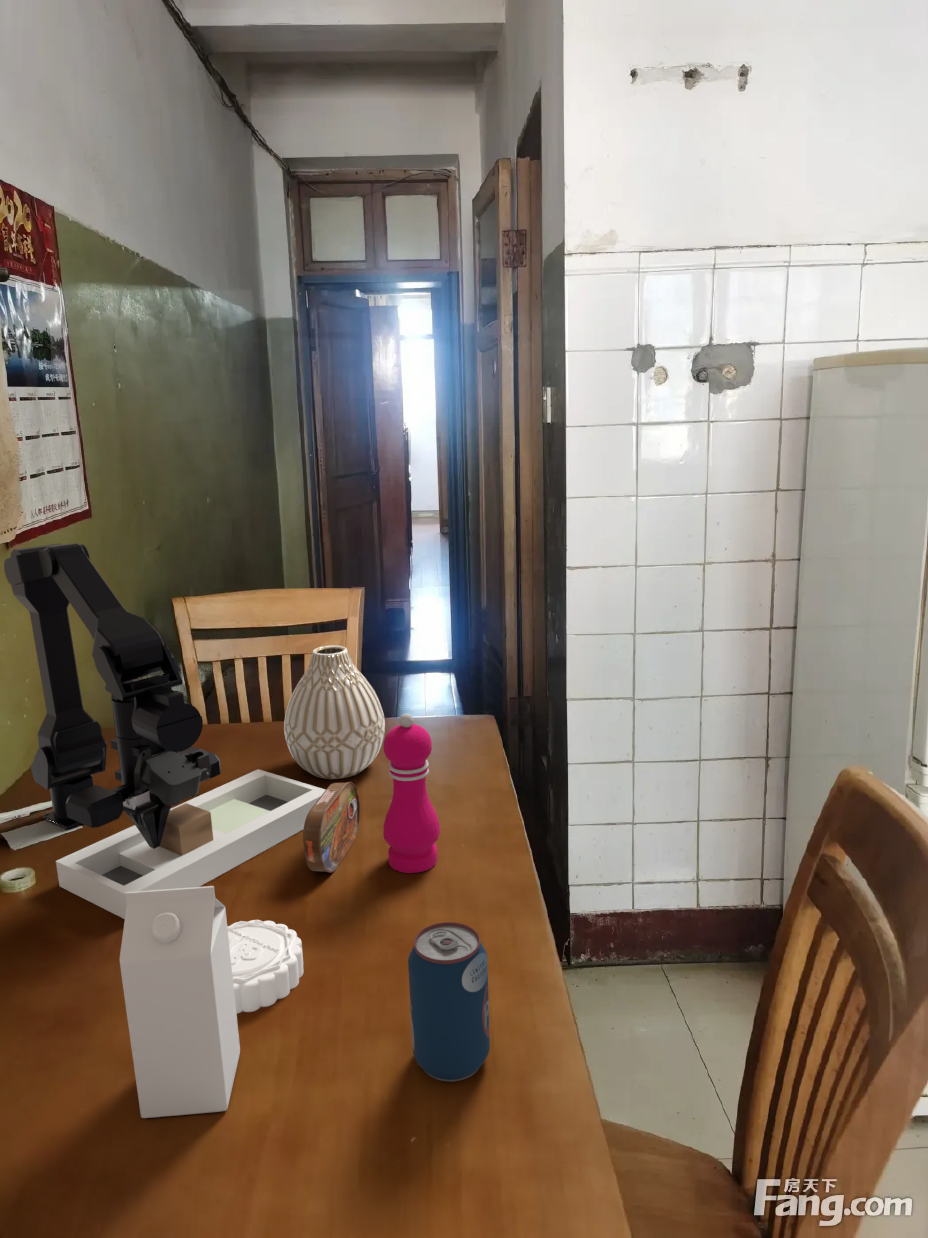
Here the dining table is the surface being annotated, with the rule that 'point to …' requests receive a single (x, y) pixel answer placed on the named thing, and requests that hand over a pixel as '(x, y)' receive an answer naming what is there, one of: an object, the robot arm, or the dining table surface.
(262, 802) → the box
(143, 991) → the milk carton
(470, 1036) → the soda can
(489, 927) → the dining table surface
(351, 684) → the vase
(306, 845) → the tin
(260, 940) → the mooncake
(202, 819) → the walnut block
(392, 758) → the pepper mill
